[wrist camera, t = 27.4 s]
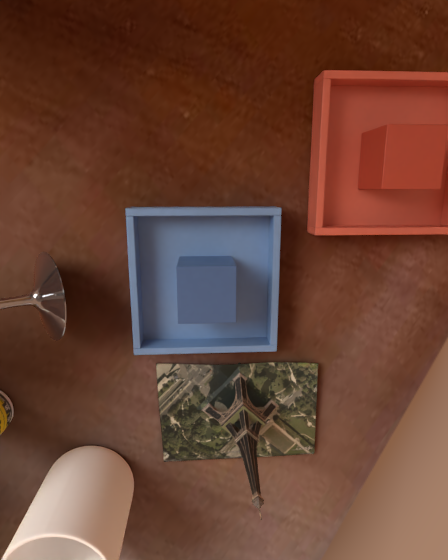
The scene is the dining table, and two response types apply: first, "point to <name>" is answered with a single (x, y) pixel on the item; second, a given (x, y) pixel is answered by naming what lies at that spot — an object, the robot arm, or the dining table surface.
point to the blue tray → (203, 242)
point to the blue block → (206, 289)
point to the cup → (77, 509)
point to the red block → (402, 157)
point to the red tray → (347, 145)
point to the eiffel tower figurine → (237, 412)
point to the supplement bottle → (5, 411)
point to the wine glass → (44, 297)
